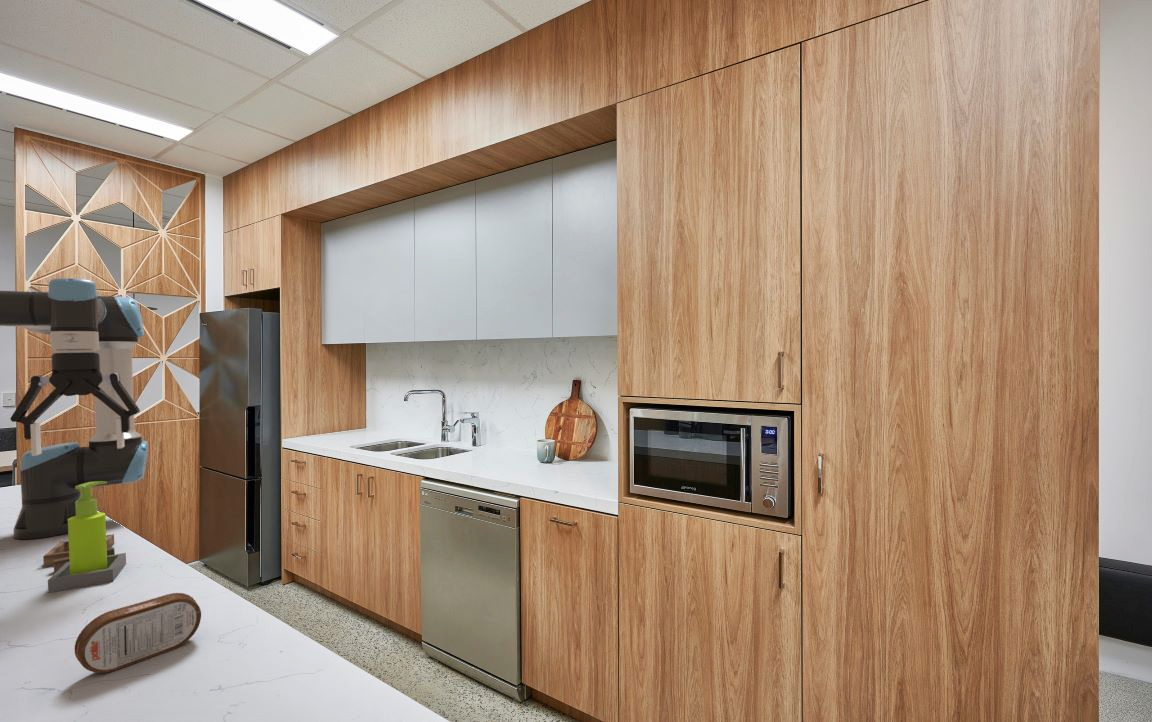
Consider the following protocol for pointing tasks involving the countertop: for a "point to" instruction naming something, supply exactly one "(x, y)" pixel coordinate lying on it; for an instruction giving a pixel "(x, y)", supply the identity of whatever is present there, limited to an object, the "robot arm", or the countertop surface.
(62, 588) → the keeper frame
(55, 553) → the walnut holder
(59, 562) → the door edge rail
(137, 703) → the countertop surface
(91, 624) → the tin
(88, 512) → the soap dispenser
